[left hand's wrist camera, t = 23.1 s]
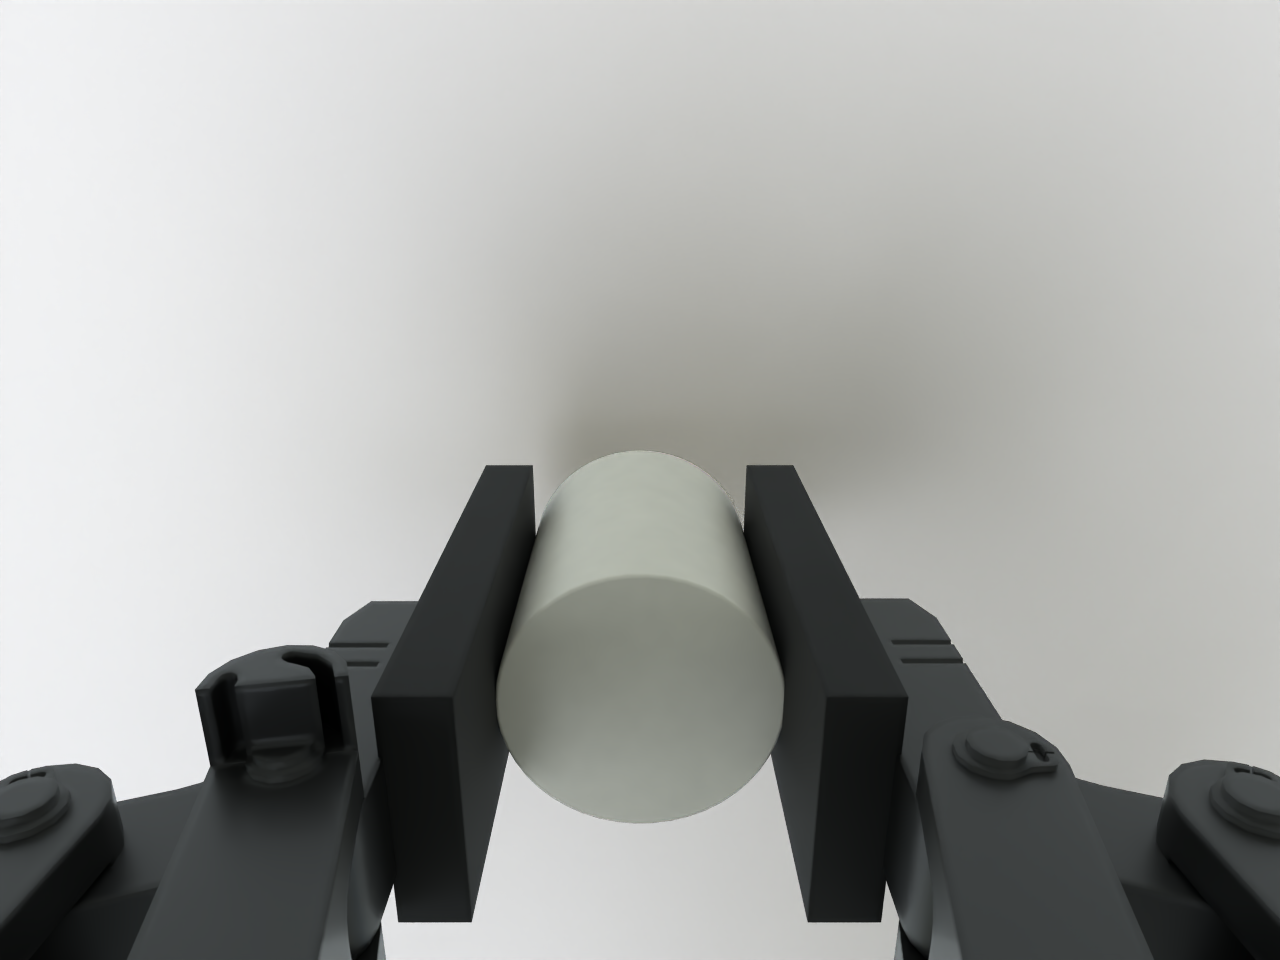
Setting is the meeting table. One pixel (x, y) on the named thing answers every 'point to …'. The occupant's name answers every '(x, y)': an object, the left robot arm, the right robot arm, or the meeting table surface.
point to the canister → (640, 646)
